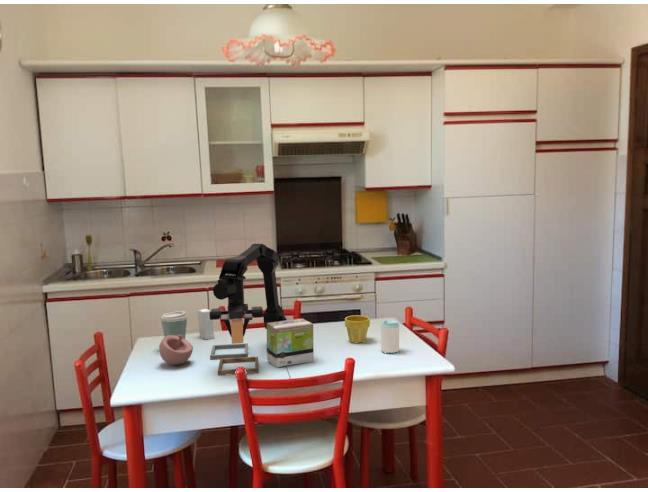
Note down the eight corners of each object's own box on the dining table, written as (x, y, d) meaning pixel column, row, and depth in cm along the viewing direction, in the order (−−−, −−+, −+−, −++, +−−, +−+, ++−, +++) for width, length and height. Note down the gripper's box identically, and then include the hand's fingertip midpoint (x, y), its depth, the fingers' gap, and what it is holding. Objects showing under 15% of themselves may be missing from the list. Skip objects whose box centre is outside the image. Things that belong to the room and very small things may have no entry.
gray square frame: (248, 346, 235) (247, 343, 235) (247, 357, 221) (247, 353, 221) (213, 348, 233) (212, 345, 233) (210, 359, 219) (210, 355, 219)
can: (386, 355, 221) (386, 324, 219) (377, 350, 227) (377, 320, 226) (402, 352, 223) (402, 322, 222) (393, 347, 230) (393, 318, 228)
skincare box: (214, 338, 249) (213, 310, 247) (205, 340, 246) (204, 312, 244) (207, 335, 253) (206, 308, 252) (198, 337, 250) (197, 309, 249)
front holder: (258, 360, 217) (257, 356, 217) (258, 372, 204) (258, 368, 203) (220, 362, 216) (220, 358, 216) (217, 375, 202) (217, 371, 202)
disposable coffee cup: (162, 354, 227) (160, 317, 225) (161, 347, 237) (159, 311, 235) (190, 351, 230) (188, 314, 228) (187, 344, 240) (185, 308, 238)
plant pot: (374, 339, 241) (374, 316, 240) (362, 346, 233) (362, 322, 232) (352, 336, 247) (352, 314, 246) (340, 342, 238) (340, 319, 237)
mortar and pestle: (182, 370, 208) (181, 339, 206) (153, 368, 211) (151, 337, 210) (199, 360, 219) (197, 330, 218) (171, 358, 223) (169, 329, 221)
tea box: (277, 368, 208) (275, 328, 206) (266, 361, 217) (265, 322, 215) (314, 361, 215) (313, 322, 213) (303, 354, 224) (301, 317, 222)
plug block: (243, 339, 211) (242, 318, 210) (243, 343, 207) (242, 321, 206) (232, 340, 210) (231, 319, 209) (231, 343, 206) (230, 321, 205)
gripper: (207, 299, 197) (209, 344, 199) (262, 297, 200) (263, 341, 202) (209, 293, 208) (211, 335, 210) (262, 290, 211) (263, 332, 212)
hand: (237, 336), depth 208 cm, fingers closed on plug block, 4 cm apart
